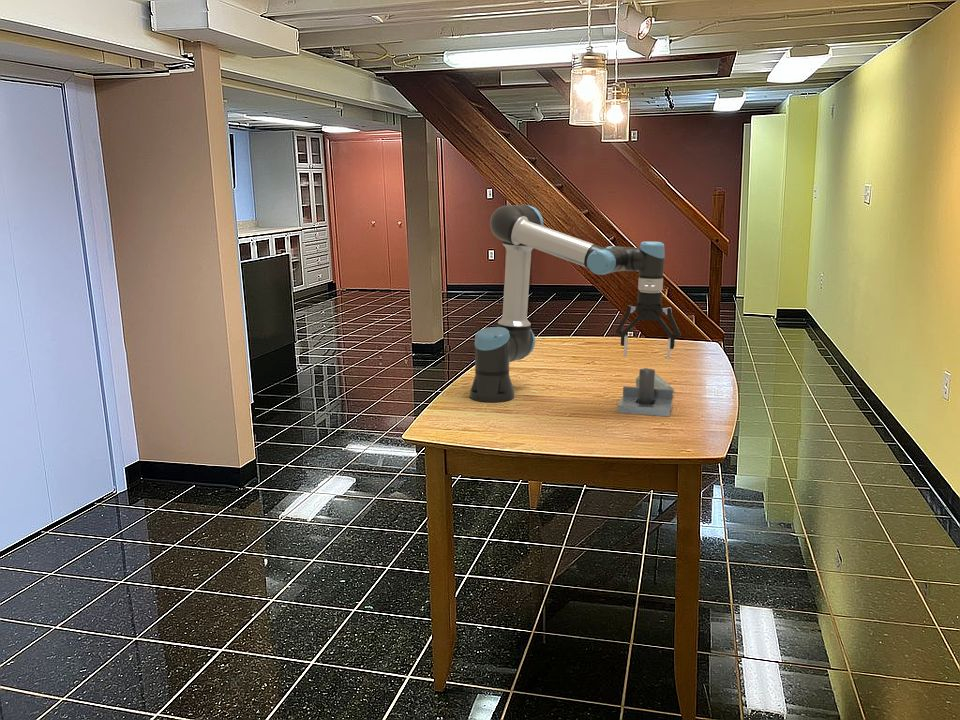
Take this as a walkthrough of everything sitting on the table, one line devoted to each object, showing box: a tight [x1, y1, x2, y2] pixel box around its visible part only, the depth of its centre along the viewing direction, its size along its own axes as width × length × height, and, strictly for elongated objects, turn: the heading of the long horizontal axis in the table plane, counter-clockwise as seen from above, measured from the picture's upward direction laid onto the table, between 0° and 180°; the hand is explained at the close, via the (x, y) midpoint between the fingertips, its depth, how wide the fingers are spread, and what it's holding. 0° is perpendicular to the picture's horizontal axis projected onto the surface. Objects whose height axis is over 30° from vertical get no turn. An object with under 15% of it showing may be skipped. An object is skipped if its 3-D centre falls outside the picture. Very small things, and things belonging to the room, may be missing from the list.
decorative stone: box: [635, 367, 675, 394], centre depth 279 cm, size 13×11×10 cm
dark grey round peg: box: [638, 367, 656, 404], centre depth 261 cm, size 5×5×13 cm
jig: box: [617, 385, 674, 418], centre depth 262 cm, size 16×14×6 cm
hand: (646, 357), depth 259 cm, fingers open, 13 cm apart
